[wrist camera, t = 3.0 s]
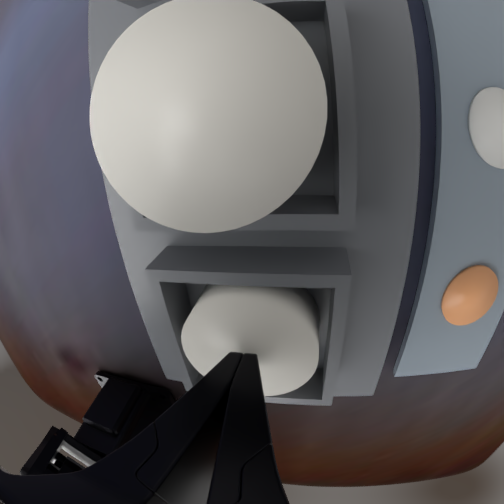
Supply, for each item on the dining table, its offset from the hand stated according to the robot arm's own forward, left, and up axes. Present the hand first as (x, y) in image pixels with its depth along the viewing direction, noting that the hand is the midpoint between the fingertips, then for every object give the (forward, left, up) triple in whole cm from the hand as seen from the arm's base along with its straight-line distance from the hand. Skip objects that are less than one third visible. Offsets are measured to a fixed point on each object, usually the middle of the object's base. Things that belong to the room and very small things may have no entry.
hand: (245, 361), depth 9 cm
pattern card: (+7, -9, -4) cm, 12 cm away
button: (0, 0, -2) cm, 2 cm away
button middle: (+7, 0, -1) cm, 7 cm away
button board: (+7, 0, -4) cm, 8 cm away
